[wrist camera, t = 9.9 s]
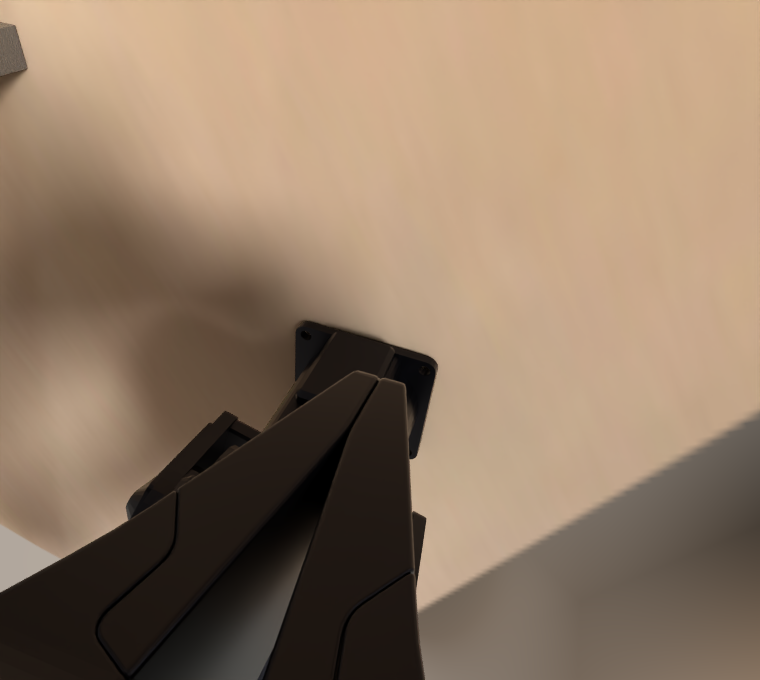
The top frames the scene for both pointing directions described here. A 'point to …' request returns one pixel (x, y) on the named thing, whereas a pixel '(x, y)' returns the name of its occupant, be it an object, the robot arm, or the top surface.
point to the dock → (10, 50)
